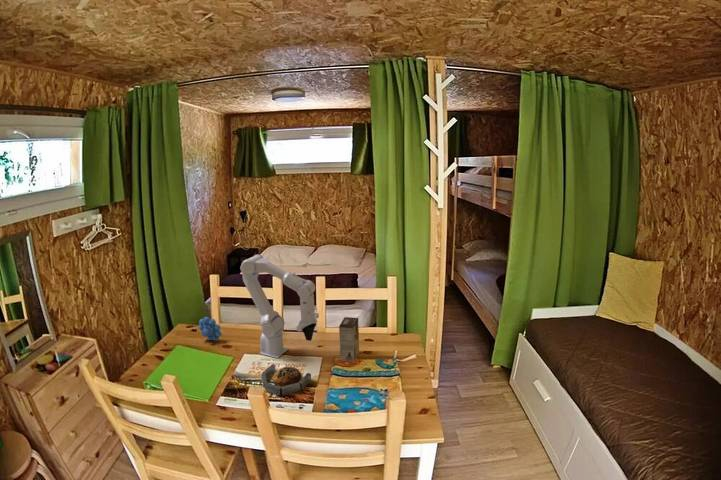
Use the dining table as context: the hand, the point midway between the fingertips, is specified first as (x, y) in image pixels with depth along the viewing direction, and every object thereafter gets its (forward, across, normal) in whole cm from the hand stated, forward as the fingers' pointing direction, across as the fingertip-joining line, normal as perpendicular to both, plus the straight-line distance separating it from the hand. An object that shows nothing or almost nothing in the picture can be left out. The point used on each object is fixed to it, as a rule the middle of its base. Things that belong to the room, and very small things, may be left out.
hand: (308, 339), depth 148 cm
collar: (+8, -20, 0) cm, 22 cm away
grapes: (+8, -6, +51) cm, 52 cm away
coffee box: (+8, +7, -16) cm, 19 cm away
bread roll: (+8, -17, 0) cm, 19 cm away
